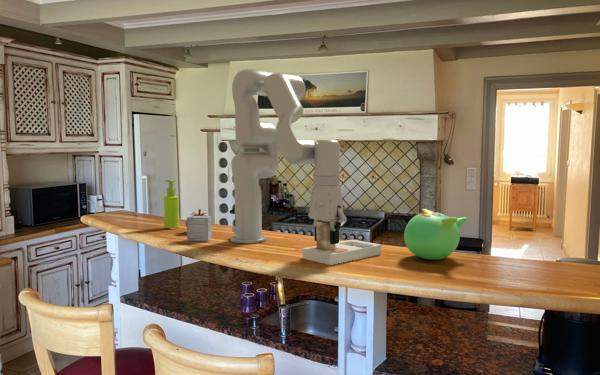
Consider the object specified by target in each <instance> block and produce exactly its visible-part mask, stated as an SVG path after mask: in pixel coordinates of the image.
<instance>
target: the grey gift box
mask: <svg viewBox="0 0 600 375" xmlns="http://www.w3.org/2000/svg"><path fill="white" fill-rule="evenodd" d="M186 220H187V227H186V241H187V242H209V241H211V240H212V238H213V237H212V236H213V235H212V234H213V233H212V216H209V215H205V216H204V215H203V216H193V215H189V216H188V217H186Z"/></svg>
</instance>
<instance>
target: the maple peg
mask: <svg viewBox="0 0 600 375" xmlns="http://www.w3.org/2000/svg"><path fill="white" fill-rule="evenodd" d="M334 224H335V225H336V223H335V222H334ZM330 231H332V229H331V225H330V221H318V222H317V241H316V246H317V249H319V250H323V251H330V250H334V249H336V244H330Z"/></svg>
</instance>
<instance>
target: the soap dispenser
mask: <svg viewBox="0 0 600 375" xmlns="http://www.w3.org/2000/svg"><path fill="white" fill-rule="evenodd" d="M163 182H164V183H168V187H167V188H166V196H163V216H164V220H163V222H164V229H165V228H177V229H180V211H179V209H180V208H179V207H180V206H179V202H180V201H179V199H180V198H179V196H178V195H176V188H175V187H174V183H175V180H173V179H167V180H164V181H163Z"/></svg>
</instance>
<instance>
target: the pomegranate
mask: <svg viewBox="0 0 600 375" xmlns="http://www.w3.org/2000/svg"><path fill="white" fill-rule="evenodd" d="M201 212H202V209H201V208H199V209H198V213H196V211H195V212H192V213H191V214H190V216H206V215H207V214H208V212H202V213H201ZM184 223H185V227H186V228H187V219H186V220H185V222H184Z"/></svg>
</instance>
